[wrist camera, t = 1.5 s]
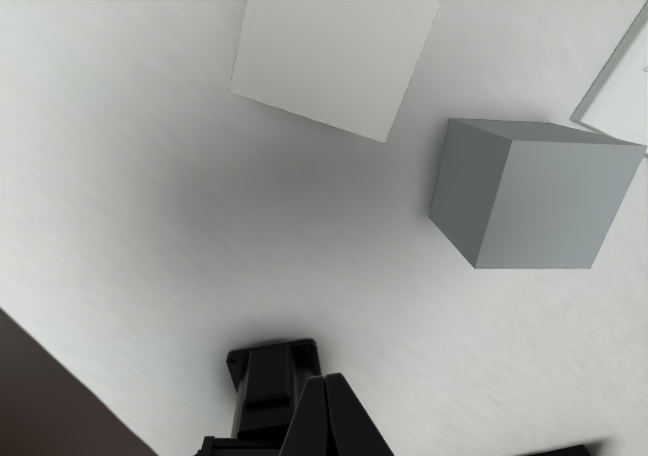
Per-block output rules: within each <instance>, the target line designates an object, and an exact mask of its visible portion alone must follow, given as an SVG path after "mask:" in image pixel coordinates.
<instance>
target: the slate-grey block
mask: <svg viewBox="0 0 648 456" xmlns="http://www.w3.org/2000/svg"><path fill="white" fill-rule="evenodd" d="M647 147H648V146H645V145H641V144H637V143H633V142H628V141H624V140H620V139H616V138H612V137H607V136H603V135H599V134H595V133H591V132H586V131H582V130H578V129H574V128H569V127H565V126H561V125H557V124H553V123H541V122H521V121H501V120H481V119H461V118H450V120H449V124H448V129H447V134H446V139H445V143H444V148H443V153H442V158H441V162H440V167H439V172H438V177H437V181H436V186H435V191H434V196H433V200H432V205H431V210H430V215H429V218H430V219H431V220H432V221H433V222H434V224H435V225H436V226H437V227H438V228H439V229H440V230H441V231H442V233H443V234H444V235H445V236H446V237H447V238H448V239H449V240H450V242H451V243H452V244H453V245H454V246H455V247H456V248H457V249H458V251H459V252H460V253H461V254H462V255H463V256H464V257H465V258H466V259H467V261H468V262H469V263H470V264H471V265H472V266H473V267H474V268H475V269H591V267H592V264H593V262H594V260H595V258H596V256H597V254H598V252H599V249H600V247H601V245H602V243H603V241H604V239H605V237H606V235H607V232H608V230H609V228H610V226H611V224H612V222H613V220H614V218H615V215H616V213H617V211H618V209H619V207H620V205H621V203H622V201H623V198H624V196H625V194H626V192H627V190H628V188H629V186H630V184H631V181H632V179H633V177H634V175H635V173H636V171H637V169H638V167H639V164H640V162H641V160H642V158H643V156H644V154H645V152H646V150H647Z"/></svg>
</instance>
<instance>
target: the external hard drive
mask: <svg viewBox="0 0 648 456" xmlns="http://www.w3.org/2000/svg"><path fill="white" fill-rule="evenodd" d="M570 120H572V121H574V122H576V123H579V124H581V125H583V126H585V127H587V128H589V129H591V130H593V131H595V132H597V133H599V134H601V135H603V136H607V137H612V138H616V139H620V140H624V141H628V142H633V143H637V144H641V145H645V146H648V1H647V2H646V4H645V5H644V7H643V8H642V10H641V12H640V13H639V15H638V16H637V18H636V19H635V21H634V22H633V24H632V25H631V27H630V28H629V30H628V31H627V33H626V34H625V36H624V37H623V39H622V40H621V42H620V43H619V45H618V46H617V48H616V49H615V51H614V53H613V54H612V56H611V57H610V59H609V60H608V62H607V63H606V65H605V66H604V68H603V69H602V71H601V72H600V74H599V75H598V77H597V78H596V80H595V82H594V83H593V85H592V86H591V88H590V89H589V91H588V92H587V94H586V95H585V97H584V98H583V100H582V101H581V103H580V104H579V106H578V107H577V109H576V110H575V112H574V113H573V115H572V116H571V118H570ZM644 156H646V157H648V147H647V150H646V152H645V154H644Z"/></svg>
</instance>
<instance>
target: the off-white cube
mask: <svg viewBox="0 0 648 456" xmlns="http://www.w3.org/2000/svg"><path fill="white" fill-rule="evenodd" d="M441 1H442V0H247V3H246V8H245V13H244V18H243V23H242V28H241V33H240V38H239V43H238V48H237V53H236V58H235V63H234V68H233V73H232V78H231V83H230V88H229V92H230V93H233V94H236V95H239V96H242V97H246V98H249V99H252V100H255V101H258V102H261V103H264V104H267V105H270V106H273V107H276V108H279V109H282V110H285V111H288V112H291V113H294V114H297V115H300V116H303V117H306V118H309V119H312V120H315V121H318V122H321V123H324V124H327V125H330V126H333V127H337V128H340V129H343V130H346V131H349V132H352V133H355V134H358V135H361V136H364V137H367V138H370V139H373V140H376V141H379V142H382V143H385V142H386V139H387V137H388V134H389V132H390V129H391V127H392V124H393V122H394V119H395V117H396V114H397V112H398V109H399V107H400V104H401V102H402V99H403V96H404V94H405V91H406V89H407V86H408V84H409V81H410V79H411V76H412V74H413V71H414V69H415V66H416V64H417V61H418V59H419V56H420V54H421V51H422V49H423V46H424V44H425V41H426V39H427V36H428V34H429V31H430V29H431V26H432V24H433V21H434V19H435V16H436V14H437V11H438V9H439V6H440V4H441Z"/></svg>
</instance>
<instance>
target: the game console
mask: <svg viewBox="0 0 648 456" xmlns="http://www.w3.org/2000/svg"><path fill="white" fill-rule="evenodd" d="M530 456H591V454H590V453H589V452H588V450H587V449H586V448H585V446H584V445H583V444H582V445H577V446H572V447H568V448H563V449H558V450H554V451H549V452H544V453H539V454H535V455H530Z"/></svg>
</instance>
